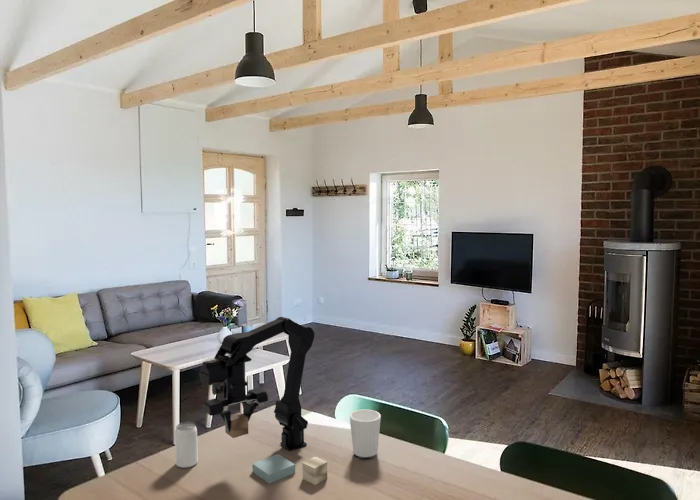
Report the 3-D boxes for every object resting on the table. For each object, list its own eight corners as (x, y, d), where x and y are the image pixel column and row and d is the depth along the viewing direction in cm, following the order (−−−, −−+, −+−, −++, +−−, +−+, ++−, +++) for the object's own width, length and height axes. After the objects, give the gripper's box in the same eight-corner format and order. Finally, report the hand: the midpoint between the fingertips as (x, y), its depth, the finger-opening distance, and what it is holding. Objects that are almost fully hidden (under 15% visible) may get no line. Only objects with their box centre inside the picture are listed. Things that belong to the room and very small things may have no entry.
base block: (278, 463, 165) (277, 453, 165) (295, 474, 159) (295, 464, 158) (252, 473, 159) (252, 463, 159) (269, 485, 153) (269, 474, 152)
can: (191, 469, 161) (190, 430, 160) (171, 467, 162) (170, 429, 161) (201, 459, 167) (200, 422, 166) (182, 457, 169) (181, 420, 168)
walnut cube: (240, 428, 165) (240, 412, 164) (248, 433, 161) (248, 417, 160) (225, 432, 162) (225, 416, 161) (233, 438, 158) (232, 421, 157)
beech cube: (315, 472, 159) (314, 456, 158) (327, 478, 155) (327, 461, 155) (302, 479, 155) (302, 462, 155) (315, 485, 152) (314, 468, 151)
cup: (344, 458, 167) (344, 418, 166) (356, 445, 176) (356, 407, 175) (375, 464, 163) (374, 423, 162) (385, 450, 173) (385, 411, 171)
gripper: (250, 365, 172) (251, 413, 173) (194, 377, 160) (196, 428, 162) (268, 374, 163) (269, 424, 165) (210, 387, 152) (211, 441, 153)
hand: (236, 428), depth 161 cm, fingers closed on walnut cube, 5 cm apart
